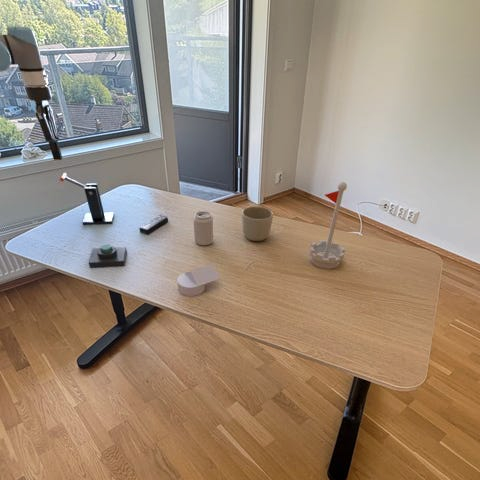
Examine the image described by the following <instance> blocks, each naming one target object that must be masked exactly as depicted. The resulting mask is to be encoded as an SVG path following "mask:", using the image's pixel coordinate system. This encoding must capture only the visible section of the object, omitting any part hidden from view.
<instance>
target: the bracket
mask: <svg viewBox="0 0 480 480" xmlns="http://www.w3.org/2000/svg"><path fill="white" fill-rule="evenodd" d="M85 186H87V187H85V188H83V189H84V194H85V197H86V201H87V205H88V208H89V212H86V213H85V214H84V217H83V220H82V225H83V226H88V225H89V226H91V225H112V224H113V222H114V218H115V212H105V211H104V207H103V206H104V205H103V203H102V199H101V198H102V197H101V193H100V190H99V186H98V183H86V184H85ZM89 186H92V187H89ZM96 188H97V189H96Z"/></svg>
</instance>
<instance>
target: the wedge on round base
mask: <svg viewBox="0 0 480 480" xmlns="http://www.w3.org/2000/svg"><path fill="white" fill-rule="evenodd" d="M219 279H221V277H220V275H219V273H218V272H217V269H216V267H215V265H214V263H210V264H208V265H203V266H201V267H198V268H195V269H193V270H189V271H187V272H184V273H182V274H180V275H178V277H177V278H176V281H177V290H178V292H179V293H180V294H181V295H183V296H188V297H195V296H198V295H200V294H203V293H204V292H205V288H206V284H208V283H211V282H214V281H217V280H219Z"/></svg>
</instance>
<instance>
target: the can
mask: <svg viewBox="0 0 480 480" xmlns="http://www.w3.org/2000/svg"><path fill="white" fill-rule="evenodd" d="M192 219H193V235H194V242H195V243H196V245H199V246H204V247H205V246H209V245H211V244H212V243H213V241H214V221H213V220H214V217H213V216H212V213H211V212H210V211H206V210H200V211H196V212H195V214H194V216H193V218H192Z"/></svg>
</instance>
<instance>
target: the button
mask: <svg viewBox="0 0 480 480" xmlns="http://www.w3.org/2000/svg"><path fill="white" fill-rule="evenodd" d="M111 246H112V245H111V244H102V245H101V246H100V247H101V251H102V253H110V252H111V251H112V248H111Z"/></svg>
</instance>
